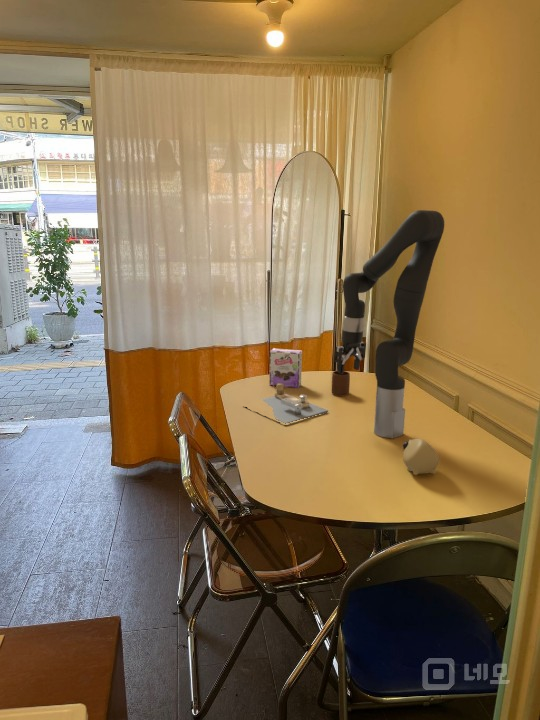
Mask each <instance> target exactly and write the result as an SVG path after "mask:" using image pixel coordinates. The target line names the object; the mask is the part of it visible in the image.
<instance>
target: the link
mask: <svg viewBox="0 0 540 720" xmlns="http://www.w3.org/2000/svg"><path fill="white" fill-rule="evenodd" d="M284 388H285V387H284V384H281V383H279V384H277V386H276V391H275V393H274V396H275V397H276V398H279V399H284V398H288V399H291V400H293V401H296V402H299V403H301V398H298V399H297V397H295V396H292V395H290V394H287V393H285V389H284ZM284 393H285V394H284ZM289 395H290V396H289ZM294 397H295V398H294ZM309 403H310V401H307V400H305V403H301V404H303V408H308V407H309Z"/></svg>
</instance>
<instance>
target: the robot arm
mask: <svg viewBox="0 0 540 720" xmlns="http://www.w3.org/2000/svg"><path fill="white" fill-rule="evenodd" d="M444 230H445V218H444V216H443V215H442V213H440V212H439V211H437V210H427V209H426V210H425V209H419V210H414V211H413V212H411V213H410V214H409V215H408V216H407V217H406V218H405V220H404V221H403V222H402V223H401V225H400V226H399V227H398V229H396V231H395V232H394V233H393V235H392V236H391V237H390V238H389V239H388V241H387V242H386V243H385V244H384V245H383V246H381V248H380V249H379V250H378V251H377V252H376V253H375V254H373V255H372V256H371V257H370V258H369V259H368V260H367V261H366V262H365V263H364V264H363V266H362V271H361V272H352V273H349V274H346V276H345V277H344V279H343V282H342V293H343V298H344V305H345V307H344V316H343V319H342V330H341V338H340V339H341V341H342V345H341V346H339V345H336V346H335V349H334V357H333V362H335V363H336V364H337V369H336V370H337V371H338V373H340V374H343V372H344V371H345V363H346V361H347V360H348V359H349V358H350V357H354V359H353V360H354V361H353V369H354V370H355V371H359V370H360V367H361V361H362V360H363V359H365V358H366V350H367V349H366V348H367V343H366V342H364V341H363V338H364V327H365V314H366V313H365V312H366V302H365V301H363V300H362V299H360V297H359V295H360V294H362V293H363V294H364V293H367V292H369V291H370V290H371V289H373V288H374V286H375V285H376V284H377V282H378V281H379V279H380V278H382V277H383V275H385V274H386V273H387V272H388V271H390V269H392V268H393V267H394V266H395V264H396V263H397V261H398V259H399V257H400V255H401V254H402V253H403V252H404V251H406V250H407V249H408V248H410V247H411V246H413V245H414V244H415V247H414V250H413V253H412V256H411V257H410V260H409V261H408V262H407V264H406V266H405V267H404V269H403V270H402V272H401V274H400V275H399V277H398V279H397V282H396V286H395V290H394V295H393V300H392V301H393V309H394V312H395V316H396V328H395V331H394V335H393V338H392V339H388V340H385V341H382V342H380V343H379V344H378V345H377V347H376V350H375V359H374V361H375V366H374V368H375V369H374V373H375V378H376V379H375V380H376V393H375V394H376V395H375V409H374V411H375V413H374V428H373V432H374V434H375V435H376V436H379V437H382V438H387V439H389V438H390V439H392V440H393V439H396V438H399V437H401V436H403V435H404V431H405V418H406V409H405V408H404V401H405V399H404V397H405V387H406V386H405V385H406V380H405V378H404V377H402V376H401V375H399V367H401V366H404V365H406V364H407V363H409V362H410V360H411V358H412V355H413V353H414V352H413V351H414V344H415V337H416V331H417V326H418V321H419V317H420V314H421V308H422V307H423V306H422V305H423V303H424V299H425V295H426V290H427V285H428V281H429V278H430V275H431V270H432V267H433V263H434V259H435V256H436V253H437V250H438V248H439V245H440V242H441V240H442V237H443V235H444Z"/></svg>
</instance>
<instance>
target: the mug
mask: <svg viewBox="0 0 540 720" xmlns="http://www.w3.org/2000/svg"><path fill="white" fill-rule="evenodd" d="M331 374H332V375H331V395H334V396H336V397H345V396H348V395H349V393H350V384H351V383H350V381H351V375H350V372H348V371H346V370H344V372H343V374H340V373H338V371H337V369H335V371H333V372H331Z"/></svg>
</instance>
